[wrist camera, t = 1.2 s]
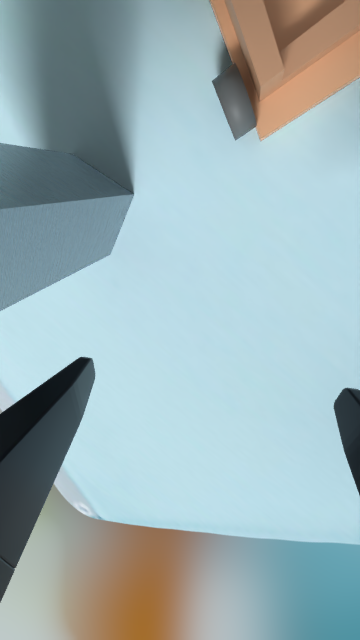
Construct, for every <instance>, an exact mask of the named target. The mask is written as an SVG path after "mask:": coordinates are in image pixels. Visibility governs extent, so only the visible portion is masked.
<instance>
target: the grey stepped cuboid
mask: <svg viewBox="0 0 360 640" xmlns="http://www.w3.org/2000/svg"><path fill="white" fill-rule="evenodd" d="M133 196H134V194H133V193H131V192H130V191H128V190H127V189H125V188H124V187H122V186H121V185H119V184H117V183H116V182H114V181H113V180H111V179H110V178H108V177H107V176H105V175H104V174H102V173H101V172H99V171H98V170H96V169H95V168H93V167H91V166H90V165H88V164H87V163H85V162H84V161H82V160H81V159H79V158H78V157H76V156H75V155H73V154H69V153H63V152H56V151H49V150H43V149H36V148H30V147H23V146H16V145H10V144H3V143H0V311H1V310H3V309H5V308H7V307H9V306H11V305H13V304H15V303H17V302H19V301H21V300H22V299H24V298H26V297H28V296H30V295H32V294H34V293H36V292H38V291H40V290H42V289H44V288H46V287H48V286H50V285H52V284H54V283H56V282H58V281H60V280H61V279H63V278H65V277H67V276H69V275H71V274H73V273H75V272H77V271H79V270H81V269H83V268H85V267H87V266H89V265H91V264H93V263H95V262H97V261H98V260H100V259H102V258H104V257H106V256H108V255H110V254H111V252H112V249H113V246H114V244H115V241H116V239H117V236H118V234H119V231H120V229H121V226H122V224H123V221H124V219H125V216H126V213H127V211H128V208H129V206H130V203H131V201H132V198H133Z"/></svg>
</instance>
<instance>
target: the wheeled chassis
mask: <svg viewBox="0 0 360 640" xmlns="http://www.w3.org/2000/svg"><path fill="white" fill-rule="evenodd" d="M209 1H210V3H211V6H212V9H213V12H214V14H215V17H216V20H217V23H218V25H219V28H220V31H221V34H222V36H223V39H224V42H225V45H226V47H227V50H228V53H229V56H230V58H231V61H232V64H233V65H231V66H230V67H229V68H228V69H226V70H225V71H224V72H223V73H222V74H220V75H219V76H218V77H217V78H215V79H214V80H213V81H212V82H213V85H214V88H215V90H216V93H217V95H218V98H219V100H220V103H221V105H222V108H223V111H224V113H225V116H226V118H227V121H228V123H229V126H230V128H231V131H232V133H233V136H234V138H235V140H237V139H238V138H240V137H241V136H243V135H244V134H246V133H247V132H249V131H250V130H252V129H253V128H255V127H256V130H257V133H258V135H259V138H260V141H262V140H263V139H265V138H266V137H268V136H269V135H271V134H273V133H274V132H276V131H277V130H279V129H280V128H282V127H283V126H285V125H287V124H288V123H290V122H291V121H293V120H294V119H296V118H297V117H299V116H301V115H302V114H304V113H305V112H307V111H308V110H310V109H311V108H313V107H314V106H316V105H318V104H319V103H321V102H322V101H324V100H325V99H327V98H328V97H330V96H332V95H333V94H335V93H336V92H338V91H339V90H341V89H342V88H344V87H346V86H347V85H349V84H350V83H352V82H353V81H355V80H356V79H358V78H359V77H360V0H209Z"/></svg>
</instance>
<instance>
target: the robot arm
mask: <svg viewBox="0 0 360 640" xmlns="http://www.w3.org/2000/svg"><path fill="white" fill-rule="evenodd" d="M94 380H95V369H94V363H93V360H92V358H88V357H80V358H78V359H77V360H75V361H74V362H72V363H71V364H70V365H68V366H67V367H65V368H64V369H63V370H61V371H60V372H58V373H57V374H56V375H54V376H53V377H51V378H50V379H48V380H47V381H46V382H44V383H43V384H41V385H40V386H39V387H37V388H36V389H34V390H33V391H32V392H30V393H29V394H27V395H26V396H25V397H23V398H22V399H20V400H19V401H18V402H16V403H15V404H13V405H12V406H11V407H9V408H8V409H6V410H5V411H4V412H2V413H1V414H0V602H1V600H2V598H3V595H4V593H5V591H6V589H7V586H8V584H9V582H10V580H11V577H12V575H13V573H14V570H15V569H14V568H16V566H17V563H18V561H19V559H20V557H21V555H22V552H23V550H24V548H25V546H26V543H27V541H28V539H29V537H30V534H31V532H32V530H33V528H34V525H35V523H36V521H37V519H38V517H39V514H40V512H41V510H42V508H43V505H44V503H45V501H46V498H47V496H48V494H49V492H50V490H51V487H52V485H53V483H54V481H55V478H56V476H57V474H58V472H59V470H60V467H61V465H62V463H63V461H64V458H65V456H66V454H67V452H68V449H69V447H70V445H71V443H72V440H73V438H74V436H75V434H76V431H77V429H78V427H79V425H80V422H81V420H82V417H83V414H84V411H85V408H86V405H87V402H88V399H89V396H90V393H91V389H92V386H93V383H94ZM334 411H335V415H336V419H337V423H338V428H339V432H340V436H341V440H342V444H343V448H344V452H345V455H346V458H347V461H348V464H349V466H350V469H351V472H352V475H353V478H354V481H355V484H356V486H357V489H358V492H359V495H360V390H358V389H353V388H345V389H343V390H342V392H341V393H340V395H339V396H338V398H337V399H336V400H335V402H334Z"/></svg>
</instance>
